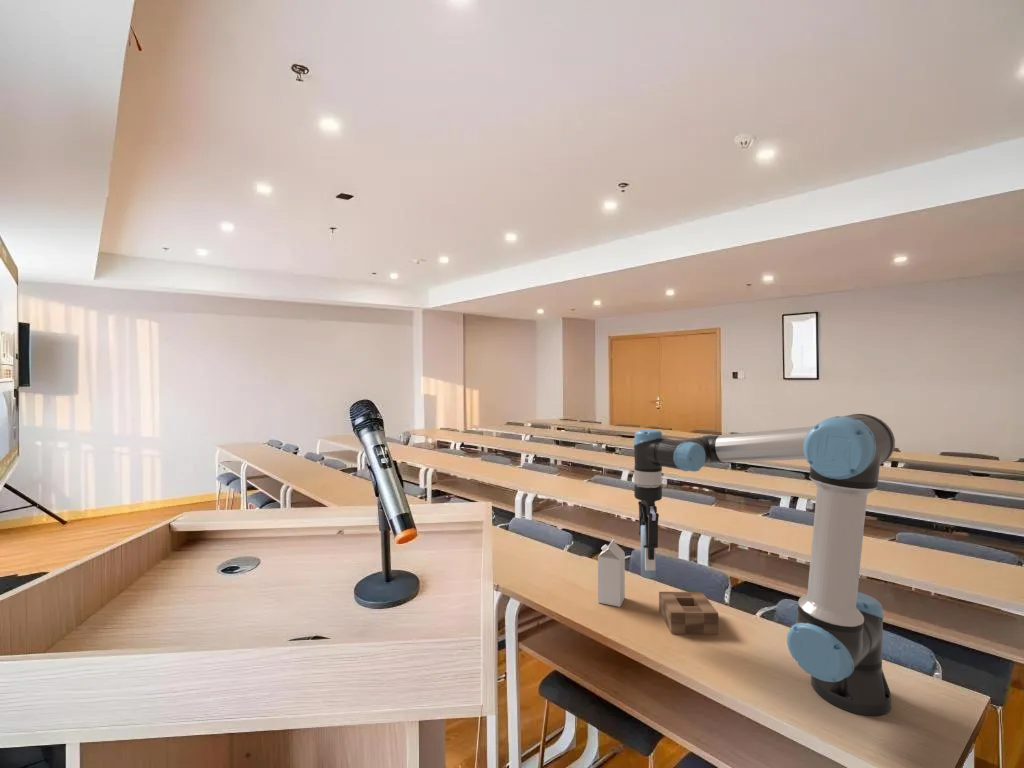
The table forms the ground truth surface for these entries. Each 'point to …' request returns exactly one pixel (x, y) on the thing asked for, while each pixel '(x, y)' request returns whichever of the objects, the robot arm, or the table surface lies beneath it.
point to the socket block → (688, 613)
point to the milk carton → (611, 575)
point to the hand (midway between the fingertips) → (648, 566)
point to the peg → (644, 573)
